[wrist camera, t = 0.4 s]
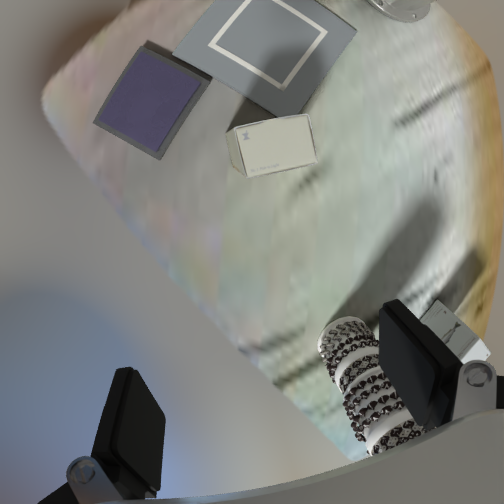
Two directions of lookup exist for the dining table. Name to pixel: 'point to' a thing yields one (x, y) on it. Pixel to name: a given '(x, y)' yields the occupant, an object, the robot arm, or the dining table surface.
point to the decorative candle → (365, 386)
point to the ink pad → (150, 102)
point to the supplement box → (455, 333)
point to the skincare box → (272, 145)
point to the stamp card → (267, 49)
